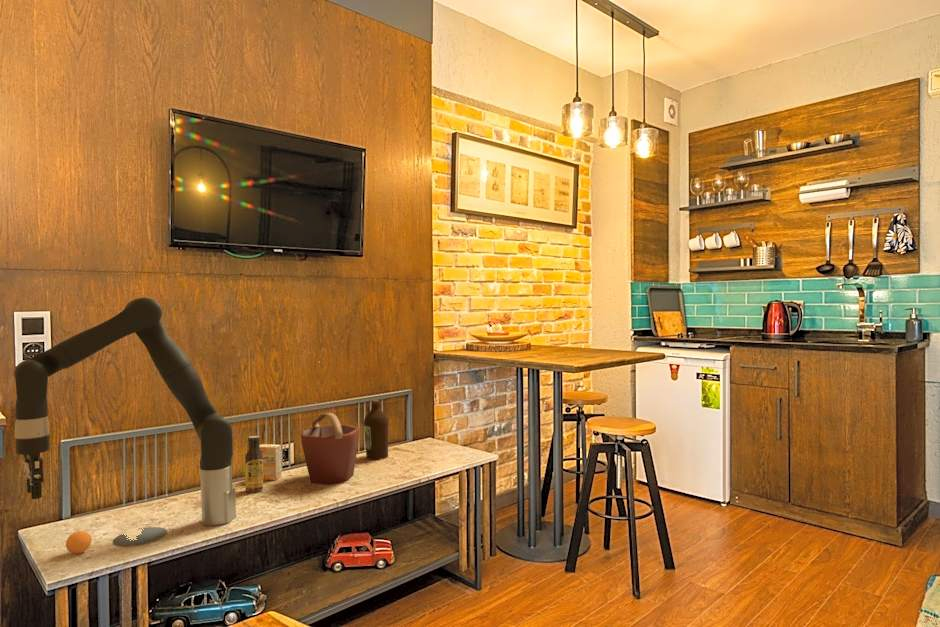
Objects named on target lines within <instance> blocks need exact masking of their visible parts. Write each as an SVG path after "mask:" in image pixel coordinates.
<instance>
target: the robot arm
mask: <svg viewBox="0 0 940 627" xmlns="http://www.w3.org/2000/svg"><path fill="white" fill-rule="evenodd" d="M162 317H163V310H162V306H161V304H160V303H159V302H158V301H156V300H155V299H153V298H150V297H138V298H136V299H135V298H134V299H132V300H131V301H129V302H128V303H127V304H125V307H124V309H123V310H122V311H120V312H119V313H118V314H116V315H114V316H112V317H111V318H109V319H107V320H105V321H104V322H101V323H100V324H97V325H95V326H93V327H91V328H88V329H86V330H83V331H81V332H79V333H76V334H75V335H73V336H70V337H69V338H67V339H65V340H62V341H61V342H59V343H58V344H55V345H53V346H52V347H50V348H48V349H47V350H44V351H43V352H40V353H38V354H36V355H33V356H31V357H29V358H27V359H25V360H23V361H21V362H19V363H18V364H17V365H16V366H15V368H14V371H13V376H14V380H15V390H16V400H15V409H14V411H15V424H14V447H15V448H14V450H15V454H17V455H19V456H23V457H24V459H23V461H22V464H23V473H24V477H25V479H26V492H27V493H28V494H30V498H31V499H32V500H38V499H41V498H42V496H43V494H42V491H43V490H42V488H43V487H42V484H43V483H44V480H45V479H44V459H43V458H42V456H41V453H46V452H47V451H49V450H50V449H51V441H50V440H51V437H50V420H49V410H48V409H49V408H48V406H49V405H48V399H47V398H48V397H47V395H48V384H49V383H48V382H49V381H48V380H49V377H51V376H53V375H54V374H57V373H58V372H60V371H62V370H66V369H69V368H71V367H73V366H75V365H77V364H79V363H81V362H82V361H84V360H86V359H87V358H90V357H91V356H92V355H95V354H97V353H98V352H100V351H101V350H103V349H105V348H106V347H108V346H110V345H112V344H114V343H116V342H117V341H119V340H121V339H124V338H125V337H128V336H129V335H133V334H136V336H137V337H138V338H139V340H140V341H141V342H142V344H143V345H144V347H145V348H146V350H147V353H148V354H149V356H150V358H151V360H152V362H153V364H154V366H155V368H156V370H157V371H158V373H159V376H161V378H162V380H163V381H164V383H165V385H166V387H167V388H168V389H169V390H170V392H171V394H172V395H173V396H174V398H176V401H177V402H178V403H179V404H180V405H181V406H182V407H183V409H184V410H185V412H186V413H187V415H188V417H189V419H190V421H191V423H192V425H193V427H194V430H195V433H196V434H197V437H198V438H199V440H200V448H201V449H200V451H201V453H200V455H201V456H200V459H199V474H200V476H199V478H200V479H199V480H200V497H201V498H200V500H201V503H200V504H201V522H202V525H204V526H218V525H223V524H230V523H231V521H233V520H234V519H235V518H237V504H236V501H237V500H236V488H235V487H234V486H233V473H232V472H233V471H232V470H233V469H232V467H233V466H232V459H233V455H234V451H233V450H234V448H233V447H234V446H233V445H234V444H233V440H234V439H233V438H234V437H233V428H232V425H231V423H230V422H229V420H227V419H226V418H224V417H223V416H222V415H221V414H220V413H219V412H218V410H216V408H215V407H214V405H213V404H212V403H211V401H210V399H209V397H208V395H207V393H206V390H205V388H204V383H203V382H202V379H201V377H200V375H199V372H197V369H196V368H195V366H194V364H193V363H192V361H191V360H190V358H189V357H188V355H187V354H186V353H185V352H184V350H183V349H182V348H181V347H180V346H179V345H178V343H177V342H175V341H174V339H173V338H172V337H171V335H169V333H168V332H167V329H166V328H165V327H164V324H163V321H162V320H161V319H162Z"/></svg>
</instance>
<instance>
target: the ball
mask: <svg viewBox="0 0 940 627" xmlns="http://www.w3.org/2000/svg"><path fill="white" fill-rule="evenodd" d="M91 543H92V536H91V535H90V533H89V532H87V531H85V530H78V531H75V532H73V533H71V534H70V535H69V536H68V537H67V539H66V541H65V546H66V549H67V550H68V552H69V553H70V554H71V553H72V554H76V555H77V554H82V553H84V552H86V551H87V550H89V548H90V546H91V545H92V544H91Z"/></svg>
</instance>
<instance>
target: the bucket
mask: <svg viewBox="0 0 940 627" xmlns="http://www.w3.org/2000/svg"><path fill="white" fill-rule="evenodd" d="M325 417H328V419H329V420H330V422H331V424H332V425H320V424H319V422H321V421H322V420H324V419H325ZM311 426H312V427H311V428H307V429H306V428H305V429H302V430H300V440H301V441H300V442H301V446H302V450H303V456H304V459H305V460H304V461H305V464H306V468H307V472H308V477H309V482H310V484H312V485H321V486H322V485H325V486H329V485H335V484H341V483H346V482H348V481H349V480H350V479H351V478H352V477H353V476H354V474H355V473H354V472H355V467H356V459H357V453H358V448H359V441H360V427H357V426H354V425H353V426H352V425H349V424H341V422H340V419H339V418H338V416H337V415H336V414H335V413H333V412H325V413H324V412H323V413H320V414H319V415H318V416H317V417H315V419H314V420H313V421H312V422H311Z"/></svg>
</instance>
